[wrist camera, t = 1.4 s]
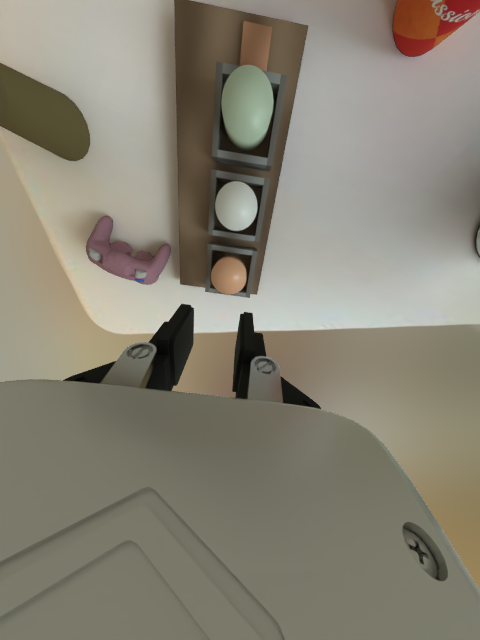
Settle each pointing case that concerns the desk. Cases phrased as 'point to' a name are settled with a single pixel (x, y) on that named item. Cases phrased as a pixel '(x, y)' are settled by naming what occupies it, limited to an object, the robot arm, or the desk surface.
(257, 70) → the pale green egg
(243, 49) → the board
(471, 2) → the coffee cup
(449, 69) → the desk surface
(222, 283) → the brown egg
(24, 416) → the robot arm
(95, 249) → the video game controller
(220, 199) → the white egg
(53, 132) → the olive green skittle
